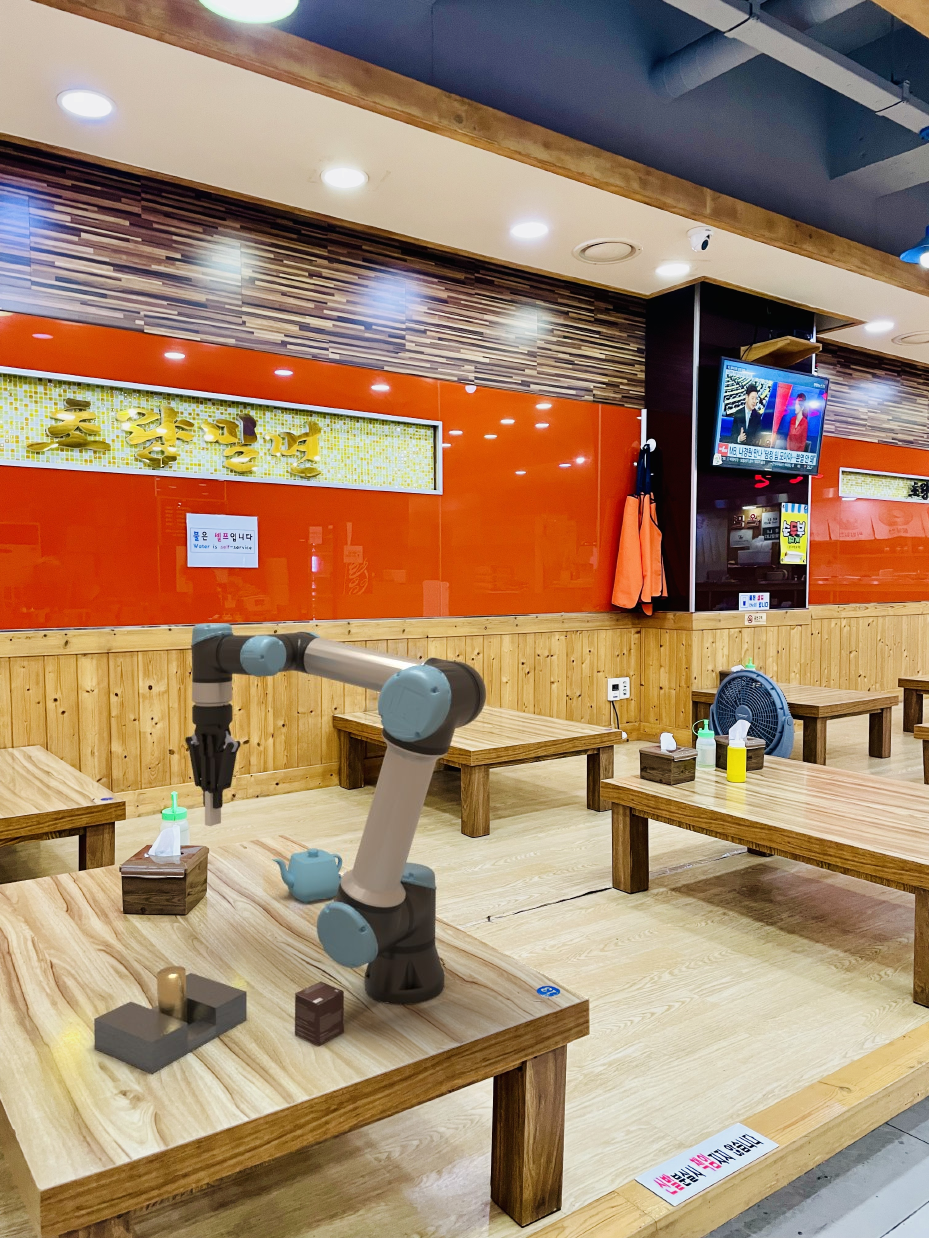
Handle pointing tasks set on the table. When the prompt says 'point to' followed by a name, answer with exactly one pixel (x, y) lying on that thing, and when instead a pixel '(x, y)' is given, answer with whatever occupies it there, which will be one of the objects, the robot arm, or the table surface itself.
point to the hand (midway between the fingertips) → (213, 823)
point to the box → (319, 1013)
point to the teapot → (311, 874)
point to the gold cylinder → (172, 992)
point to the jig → (170, 1025)
